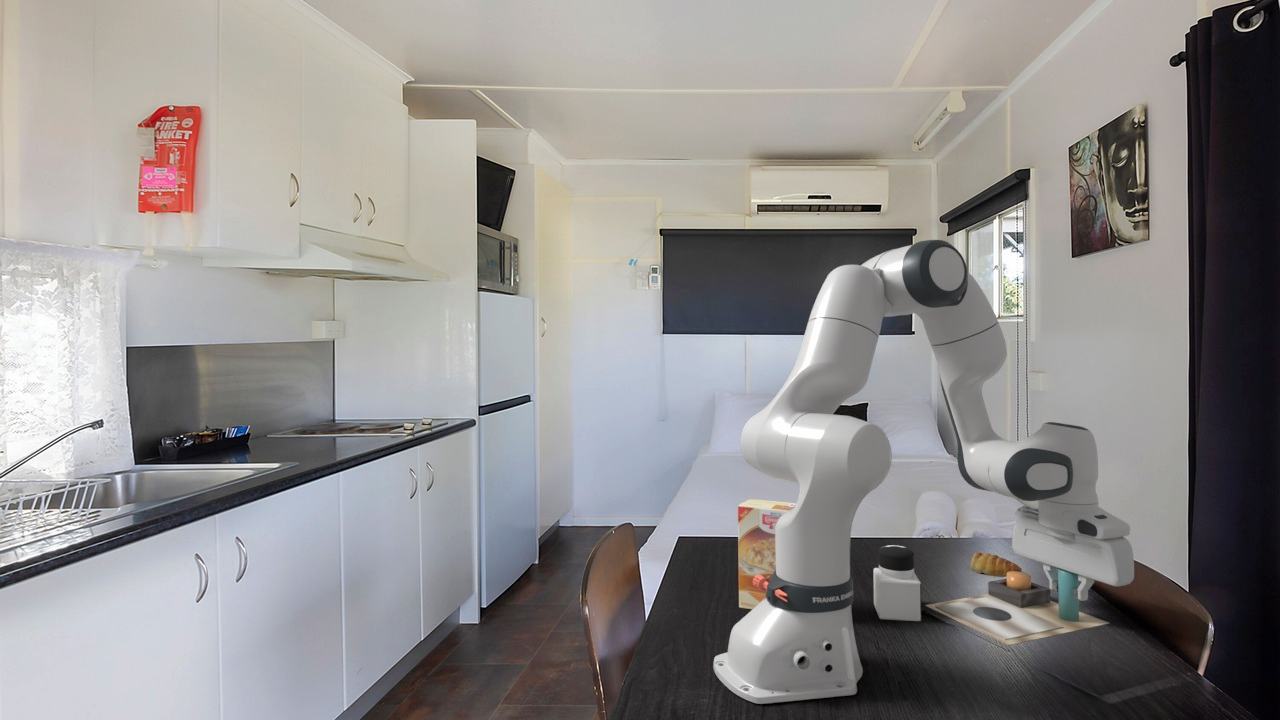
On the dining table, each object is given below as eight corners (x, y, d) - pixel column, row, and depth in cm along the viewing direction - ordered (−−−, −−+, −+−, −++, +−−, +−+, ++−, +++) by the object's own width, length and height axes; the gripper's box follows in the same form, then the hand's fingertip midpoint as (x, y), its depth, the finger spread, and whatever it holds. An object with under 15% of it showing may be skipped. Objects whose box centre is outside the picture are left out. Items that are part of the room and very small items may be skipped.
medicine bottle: (921, 622, 118) (920, 554, 118) (879, 619, 120) (878, 553, 120) (913, 607, 125) (912, 543, 125) (873, 604, 127) (872, 541, 127)
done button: (1020, 595, 123) (1019, 579, 123) (1001, 588, 127) (1001, 572, 127) (1036, 592, 125) (1036, 576, 125) (1017, 585, 128) (1017, 570, 128)
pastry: (1024, 574, 143) (1024, 556, 143) (1016, 582, 138) (1016, 564, 138) (977, 565, 149) (977, 548, 149) (968, 573, 144) (967, 555, 144)
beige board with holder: (1008, 651, 106) (1007, 629, 106) (924, 610, 123) (924, 591, 123) (1109, 628, 114) (1109, 608, 114) (1018, 593, 131) (1018, 575, 131)
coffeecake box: (738, 608, 126) (736, 505, 126) (750, 595, 133) (748, 497, 132) (817, 621, 119) (816, 513, 119) (826, 607, 126) (825, 504, 125)
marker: (1070, 623, 114) (1070, 559, 114) (1053, 616, 117) (1053, 553, 117) (1084, 620, 115) (1083, 556, 115) (1066, 613, 118) (1066, 551, 118)
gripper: (1003, 504, 125) (1004, 578, 125) (1113, 532, 106) (1113, 619, 106) (1028, 501, 127) (1029, 574, 127) (1140, 528, 108) (1141, 613, 108)
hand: (1068, 594), depth 116 cm, fingers closed on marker, 3 cm apart
